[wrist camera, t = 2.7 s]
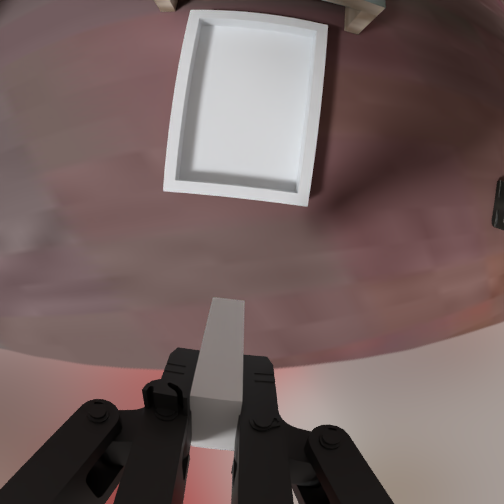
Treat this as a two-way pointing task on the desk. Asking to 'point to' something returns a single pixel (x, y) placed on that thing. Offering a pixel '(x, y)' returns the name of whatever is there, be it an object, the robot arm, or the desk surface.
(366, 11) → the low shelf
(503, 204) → the ink cartridge
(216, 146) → the white tray
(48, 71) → the desk surface
